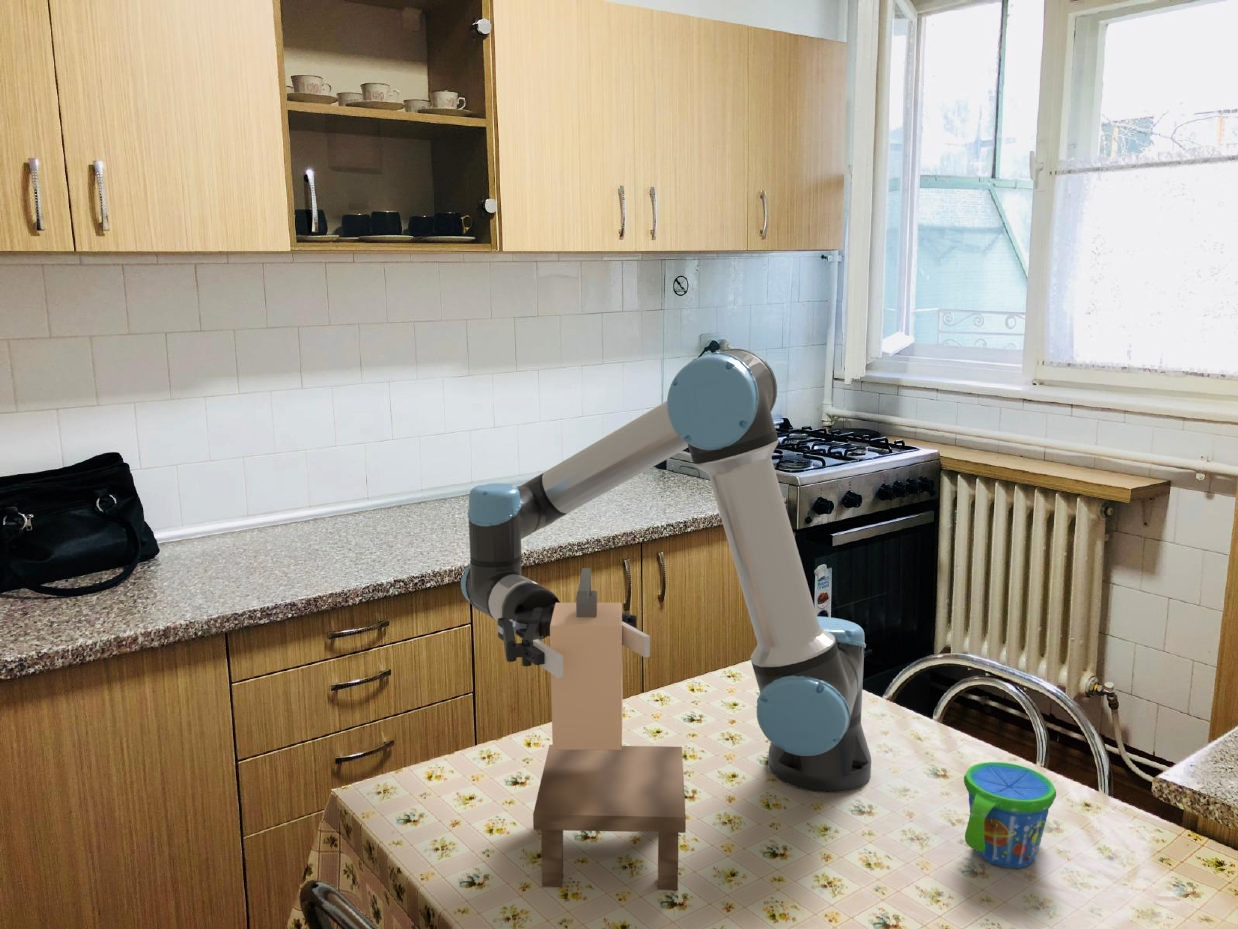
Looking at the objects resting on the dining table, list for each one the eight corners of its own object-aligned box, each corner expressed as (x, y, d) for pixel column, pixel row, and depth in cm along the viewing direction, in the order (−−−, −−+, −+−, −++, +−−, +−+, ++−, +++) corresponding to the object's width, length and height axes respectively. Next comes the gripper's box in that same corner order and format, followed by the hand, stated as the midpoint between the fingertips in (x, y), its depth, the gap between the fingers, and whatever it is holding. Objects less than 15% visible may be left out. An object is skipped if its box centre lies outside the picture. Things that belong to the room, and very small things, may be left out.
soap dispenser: (557, 719, 131) (554, 559, 127) (622, 719, 131) (621, 559, 127) (549, 766, 119) (545, 591, 114) (621, 767, 119) (619, 591, 114)
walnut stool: (681, 814, 136) (681, 746, 134) (684, 894, 118) (685, 817, 117) (550, 812, 137) (549, 744, 135) (534, 891, 119) (533, 814, 117)
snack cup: (1006, 818, 135) (1011, 748, 133) (1078, 854, 127) (1084, 780, 125) (930, 853, 127) (934, 780, 125) (1001, 895, 118) (1007, 817, 116)
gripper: (599, 618, 146) (685, 666, 128) (446, 650, 134) (517, 707, 116) (598, 569, 145) (685, 610, 127) (444, 596, 132) (515, 646, 114)
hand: (605, 656), depth 121 cm, fingers closed on soap dispenser, 12 cm apart
